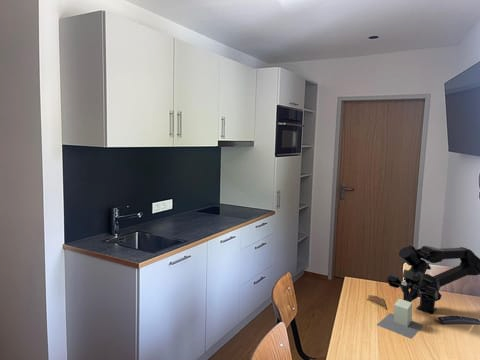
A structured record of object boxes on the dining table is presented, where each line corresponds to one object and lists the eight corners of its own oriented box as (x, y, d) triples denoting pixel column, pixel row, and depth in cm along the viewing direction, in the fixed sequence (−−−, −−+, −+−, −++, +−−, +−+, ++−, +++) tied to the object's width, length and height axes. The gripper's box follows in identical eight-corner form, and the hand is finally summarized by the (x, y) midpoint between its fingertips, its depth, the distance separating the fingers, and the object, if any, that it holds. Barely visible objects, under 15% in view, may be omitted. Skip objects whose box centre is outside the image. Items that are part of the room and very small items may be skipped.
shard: (386, 311, 149) (386, 307, 149) (367, 308, 151) (367, 304, 150) (382, 300, 159) (382, 296, 159) (365, 297, 161) (365, 294, 161)
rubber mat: (390, 313, 146) (390, 312, 146) (423, 325, 137) (423, 325, 137) (376, 325, 136) (376, 324, 136) (411, 339, 127) (411, 338, 127)
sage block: (399, 315, 142) (399, 298, 140) (411, 320, 138) (412, 302, 136) (394, 322, 138) (394, 304, 136) (407, 327, 135) (407, 309, 133)
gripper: (390, 256, 147) (376, 287, 141) (438, 268, 134) (426, 304, 128) (396, 269, 154) (383, 300, 147) (442, 283, 141) (431, 317, 134)
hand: (404, 305), depth 139 cm, fingers closed
